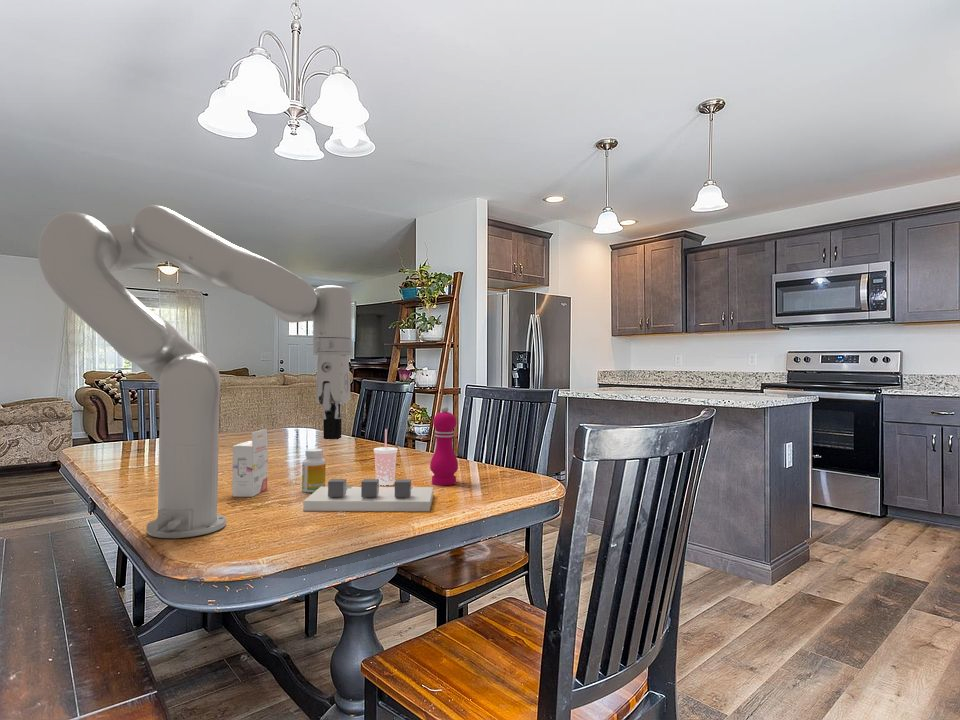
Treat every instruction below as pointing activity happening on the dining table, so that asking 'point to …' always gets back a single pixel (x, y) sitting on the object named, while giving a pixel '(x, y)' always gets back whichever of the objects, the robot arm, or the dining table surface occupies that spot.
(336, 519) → the dining table surface
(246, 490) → the ink cartridge box
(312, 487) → the supplement bottle
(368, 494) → the dark grey cube
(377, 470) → the beverage cup
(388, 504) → the switch panel
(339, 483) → the dark grey cube
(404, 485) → the dark gray cube
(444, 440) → the pepper mill
